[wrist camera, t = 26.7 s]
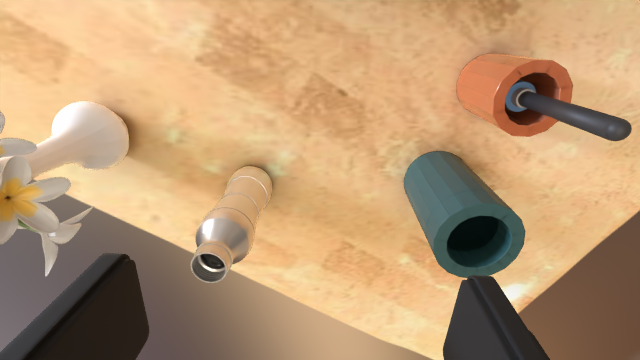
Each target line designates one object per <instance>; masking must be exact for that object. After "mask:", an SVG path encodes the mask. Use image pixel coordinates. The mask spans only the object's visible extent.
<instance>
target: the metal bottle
mask: <svg viewBox="0 0 640 360" xmlns="http://www.w3.org/2000/svg"><path fill="white" fill-rule="evenodd" d="M271 196H272V182H271V179H270V177H269V176H268V174H267V173H266V172H265V171H263V170H262V169H260V168H258V167H254V166H246V167H243V168H241V169H239V170H238V171H236V172H235V173H234V174H233V175H232V176H231V177H230V179H229V181H228V184H227V187H226V191H225V193H224V196H223V198H222V199H221V200H220V202H219V203H218V204H217V205H216V206H215V207H214V208H213V209H212V210H211V211H210V212H209V213H208V214H207V215H206V216H205V217H204V218H203V219H202V220H201V222H200V223H199V225H198V227H197V232H196V244H197V247H198V248H197V250H196V252H195V255H194V257H193V258H192V261H191V270H192V272H193V274H194V275H195V276H196V277H197V278H198V279H200V280H202V281H204V282H207V283H215V282H219V281H221V280H222V279H223V278H224V277H225V276H226V274H227V272H228V270H229V269H230V267H231V265H232V264H235V263H237V262H239V261H241V260H242V259H243V258H244V257H245V256H246V255H247V254H248V253H249V252H250V250H251V248H252V245H253V241H254V236H255V229H256V224H257V220H258V217H259V215H260V213H261V211H262V210H263V209H264V207H265V206H266V205H267V204H268V202H269V200H270V199H271Z"/></svg>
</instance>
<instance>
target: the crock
mask: <svg viewBox="0 0 640 360" xmlns="http://www.w3.org/2000/svg"><path fill="white" fill-rule="evenodd" d="M518 80H522V81H526V82H529V83H531V84H532V85H533V86H534V87H535V90H536V93H537V94H541V95H544V96H547V97H551V98H554V99H557V100H561V101H564V102H568V103H571V97H572V89H573V85H572V82H571V79H570V77H569V74H568V72H567V70H566V69H565V68H564V67H562V66H561V65H559V64H558V63H556V62H555V61H552V60H546V59H538V58H530V57H522V56H514V55H506V54H494V53H490V54H484V55H481V56H479V57H477V58H475V59H473V60H472V61H471V62H469V63H468V64H467V65H466V66H465V68H464V69H463V70H462V72H461V74H460V76H459V78H458V81H457V90H456V91H457V96H458V99H459V101H460V103H461V104H462V106H463V107H464V108H465V109H467V110H469V111H470V112H472V113H474V114H475V115H477V116H479V117H481V118H482V119H484V120H486V121H488V122H489V123H491V124H493V125H494V126H496V127H498V128H500V129H501V130H503V131H505V132H507V133H508V134H510V135H512V136H525V137H530V136H533V135H536V134H538V133H541V132H544V131H546V130H548V129H549V128H550V127H551V126H553V125H554V124H555V123H556V122H557V121H559V120H556V119H554V118H551V117H548V116H546V115H543V114H541V113H538V112H536V111H533V110H530V109H528V108H527V109H525V110H523V111H520V112H514V111H511V110H509V109H507V108H505V98H506V96H507V94H508V92H509V90H510V88H511V86H512V85H513V84H514V83H516V82H517V81H518Z"/></svg>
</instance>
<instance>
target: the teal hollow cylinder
mask: <svg viewBox="0 0 640 360" xmlns="http://www.w3.org/2000/svg"><path fill="white" fill-rule="evenodd" d="M404 188H405V192H406V194H407V196H408V198H409V201H410V203H411V205H412V207H413V209H414V212H415V214H416V216H417V218H418V220H419V222H420V225H421V227H422V229H423V231H424V233H425V236H426V238H427V240H428V242H429V244H430V246H431V249H432V251H433V253H434V255H435V257H436V260H437V262H438V263H439V265H440V266H441V267H443V268H444V269H445V270H446V271H447V272H449V273H451V274H454V275H456V276H459V277H464V278H468V277H469V276H470V275H478V276H489V275H492V274H494V273H496V272H498V271H500V270H502V269H504V268H506V267H507V266H508V265H509V264H510V263H511V262H513V261H514V260H515V259H516V257H517V256H518V254H519V252H520V251H521V249H522V247H523V245H524V238H525V229H524V226H523V223H522V220H521V219H520V218H519V217H518V216H517V214H516V213H515V212H514V211H513V210H512V209H511V208H510V207H509V206H508V205H507V204H506V203H505V202H504V201H503V200H502V199H501V198H499V197H498V196H497V195H496V194H495V193H494V192H493V191H492V190H491V189H490V188H489V187H488V186H487V185H486V184H485V183H484V182H483V181H482V180H481V179H480V178H479V177H478V176H477V175H476V174H475V173H474V172H473V171H472V170H471V169H470V168H469V167H468V166H467V165H466V164H465V163H464V162H463V161H462V160H461V159H460V158H459V157H457V156H456V155H454V154H452V153H449V152H444V151H435V152H430V153H427V154H424V155H422V156H420V157H419V158H417V159H416V160H415V161H414V162H413V163H412V164H411V165H410V167H409V168H408V170H407V172H406V174H405V178H404Z"/></svg>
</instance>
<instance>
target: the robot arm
mask: <svg viewBox="0 0 640 360" xmlns="http://www.w3.org/2000/svg"><path fill="white" fill-rule="evenodd" d="M148 335H149V325H148V320H147V316H146V311H145V306H144V302H143V297H142V293H141V289H140V283H139V279H138V274H137V270H136V265H135V262H134V261H133V260H130V258H129V256H128V255H126V254H114V253H105V254H103V255H101V256H100V257H99V258H98V259H97V260H96V261H95V262H94V263H93V264H92V265H91V266H89V267H88V268H87V269H86V270H85V271H84V272H83V273H82V274H81V275H80V276H79V277H78V278H77V279H76V280H75V281H74V282H73V283H72V284H71V285H70V286H69V287H68V288H67V289H66V290H65V291H63V292H62V294H60V295H59V296H58V297H57V298H56V299H55V300H54V301H53V302H52V303H51V304H50V305H49V306H48V307H47V308H46V309H45V310H44V311H43V312H42V313H41V314H40V315H39V316H38V317H36V318H35V319H34V320H33V321H32V322H31V323H30V324H29V325H28V326H27V327H26V328H25V329H24V330H23V331H22V332H21V333H20V334H19V335H18V336H17V337H16V338H15V339H14V340H13V341H12V342H11V343H9V344H8V345H7V346H6V347H5V348H4V349H3V350H2V351H1V352H0V360H135V359H136V358H137V356H138V354H139V353H140V351H141V349H142V348H143V346H144V344H145V343H146V341H147V338H148ZM443 356H444V360H550V359H549V357H548V356H547V354H546V353H545V352H544V350H543V348H542V347H541V345H540V344H539V342H538V341H537V339H536V338H535V336H534V335H533V334H532V333H531V332H530V331H529V330H528V329H527V327H526V326H525V324H524V323H523V321H522V320H521V318H520V317H519V315H518V314H517V312H516V311H515V309H514V308H513V306H512V305H511V303H510V302H509V300H508V298H507V297H506V295H505V294H504V292H503V291H502V289H501V288H500V286H499V285H498V283H497V282H496V280H495V279H494V278H493V277H491V276H478V275H470V276H469V277H468V279H467V280H463V281H462V282H461V285H460V289H459V292H458V296H457V299H456V303H455V307H454V310H453V314H452V317H451V321H450V325H449V328H448V332H447V336H446V339H445V343H444V347H443Z"/></svg>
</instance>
